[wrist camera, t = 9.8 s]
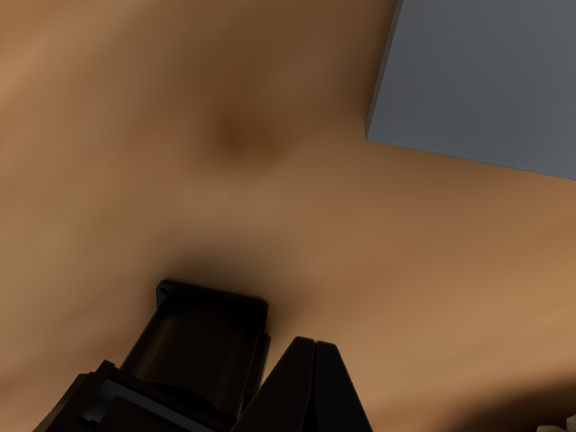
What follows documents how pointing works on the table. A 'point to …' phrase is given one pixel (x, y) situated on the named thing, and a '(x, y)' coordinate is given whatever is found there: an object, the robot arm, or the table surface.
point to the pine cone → (573, 427)
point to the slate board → (481, 83)
